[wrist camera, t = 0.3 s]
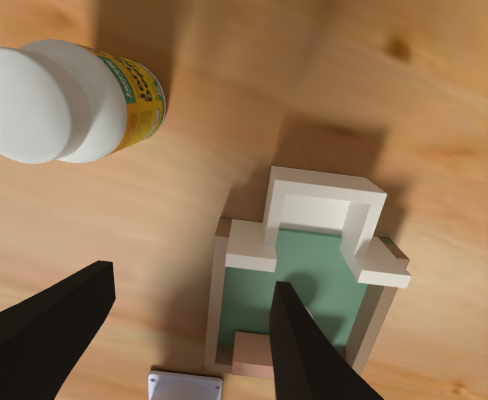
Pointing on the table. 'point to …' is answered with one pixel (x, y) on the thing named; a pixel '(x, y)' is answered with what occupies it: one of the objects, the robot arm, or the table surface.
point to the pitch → (306, 264)
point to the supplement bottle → (74, 102)
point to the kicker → (252, 356)
